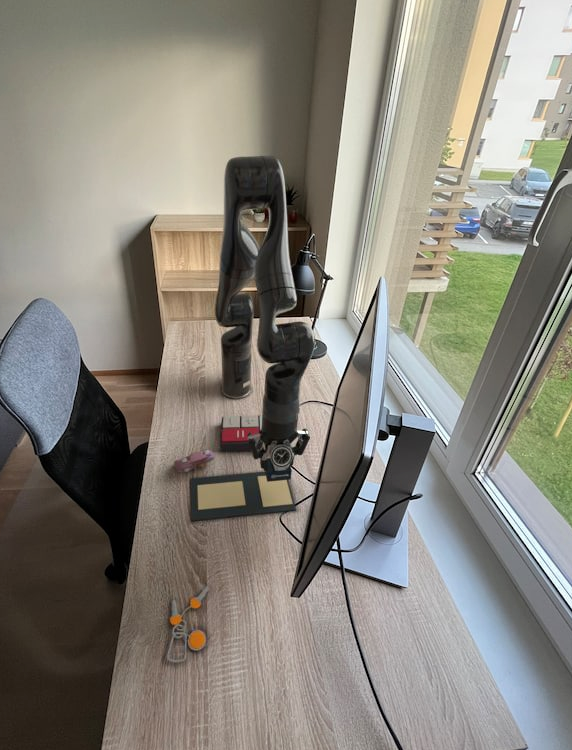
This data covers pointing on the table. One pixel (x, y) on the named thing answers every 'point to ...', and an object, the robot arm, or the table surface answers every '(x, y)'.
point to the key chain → (196, 637)
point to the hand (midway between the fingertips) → (276, 466)
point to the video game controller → (194, 460)
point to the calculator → (239, 432)
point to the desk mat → (239, 496)
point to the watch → (279, 464)
